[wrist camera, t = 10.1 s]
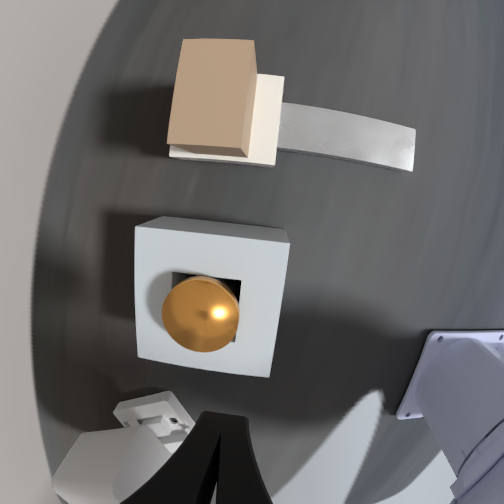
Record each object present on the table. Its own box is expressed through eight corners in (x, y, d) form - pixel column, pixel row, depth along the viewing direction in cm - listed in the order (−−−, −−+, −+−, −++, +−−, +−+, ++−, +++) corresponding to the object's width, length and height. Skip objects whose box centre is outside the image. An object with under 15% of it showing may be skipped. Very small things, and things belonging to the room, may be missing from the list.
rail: (404, 132, 15) (415, 129, 14) (401, 171, 16) (412, 171, 15) (182, 102, 16) (175, 96, 14) (177, 142, 16) (169, 139, 15)
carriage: (281, 91, 15) (290, 39, 9) (273, 167, 16) (278, 158, 10) (192, 85, 15) (152, 36, 9) (182, 159, 16) (133, 148, 10)
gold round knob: (248, 260, 17) (241, 287, 13) (241, 316, 18) (234, 357, 13) (187, 252, 17) (161, 277, 13) (184, 309, 18) (162, 346, 13)
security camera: (102, 401, 21) (46, 484, 11) (167, 385, 20) (119, 493, 10) (143, 450, 22) (109, 534, 12) (209, 440, 21) (187, 542, 11)
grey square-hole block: (284, 229, 17) (290, 243, 13) (268, 340, 19) (269, 377, 15) (162, 215, 17) (135, 226, 13) (160, 325, 19) (138, 357, 15)
